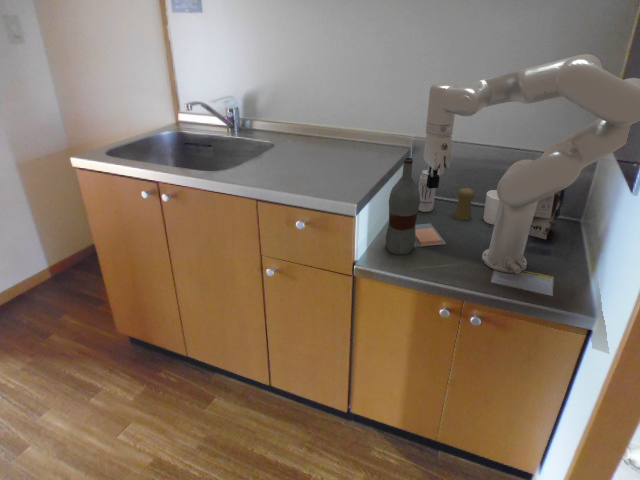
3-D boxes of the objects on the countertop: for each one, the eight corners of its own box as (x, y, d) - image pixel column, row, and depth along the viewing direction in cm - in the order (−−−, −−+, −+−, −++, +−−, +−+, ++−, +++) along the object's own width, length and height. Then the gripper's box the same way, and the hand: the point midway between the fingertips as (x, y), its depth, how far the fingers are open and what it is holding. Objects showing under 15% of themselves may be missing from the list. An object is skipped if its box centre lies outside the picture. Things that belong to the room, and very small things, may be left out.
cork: (471, 222, 155) (476, 193, 150) (453, 220, 156) (458, 192, 151) (469, 214, 160) (475, 186, 155) (452, 213, 161) (457, 185, 156)
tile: (431, 232, 148) (440, 244, 142) (411, 233, 147) (419, 246, 141) (432, 227, 148) (441, 239, 141) (411, 229, 147) (420, 241, 140)
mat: (446, 245, 142) (446, 243, 142) (413, 248, 141) (414, 246, 140) (430, 224, 154) (430, 223, 154) (399, 227, 152) (400, 226, 152)
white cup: (477, 220, 156) (482, 194, 151) (488, 213, 161) (494, 188, 156) (497, 228, 151) (503, 201, 146) (509, 220, 156) (515, 195, 151)
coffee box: (546, 240, 144) (560, 195, 136) (525, 234, 147) (537, 190, 139) (550, 228, 151) (563, 184, 143) (530, 223, 154) (542, 180, 146)
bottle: (391, 238, 146) (398, 151, 130) (418, 245, 142) (429, 156, 127) (380, 252, 139) (387, 161, 123) (408, 259, 135) (419, 166, 120)
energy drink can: (415, 212, 162) (419, 174, 154) (416, 205, 167) (421, 168, 159) (432, 214, 160) (437, 176, 153) (433, 207, 165) (438, 169, 158)
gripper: (463, 135, 121) (454, 196, 130) (441, 120, 134) (434, 177, 143) (437, 136, 120) (429, 198, 129) (417, 122, 133) (412, 179, 142)
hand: (432, 187), depth 136 cm, fingers closed
